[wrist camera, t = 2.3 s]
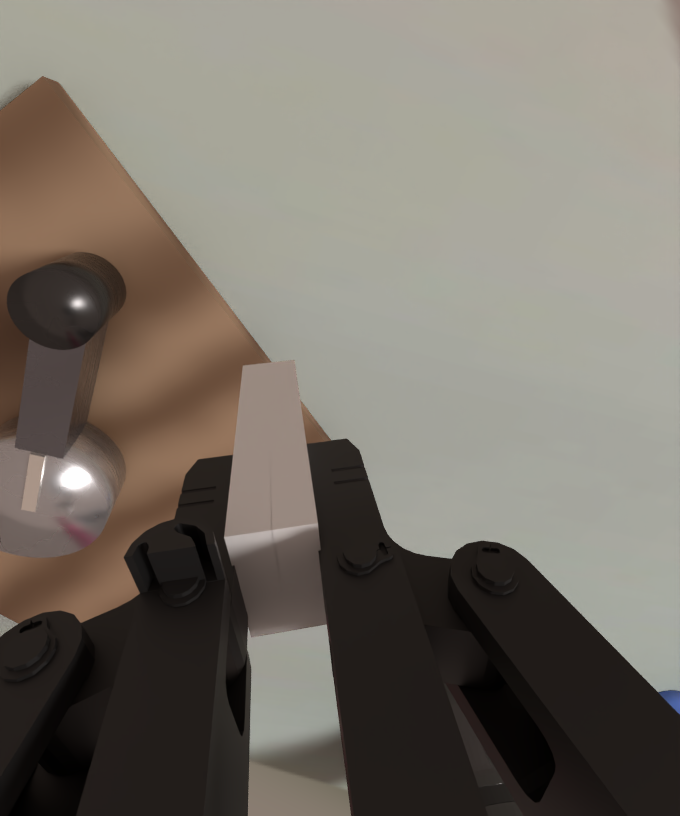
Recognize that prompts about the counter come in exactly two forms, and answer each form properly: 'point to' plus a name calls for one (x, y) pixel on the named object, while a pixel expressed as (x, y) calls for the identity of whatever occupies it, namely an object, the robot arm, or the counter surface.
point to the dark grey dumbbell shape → (60, 411)
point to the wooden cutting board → (114, 342)
